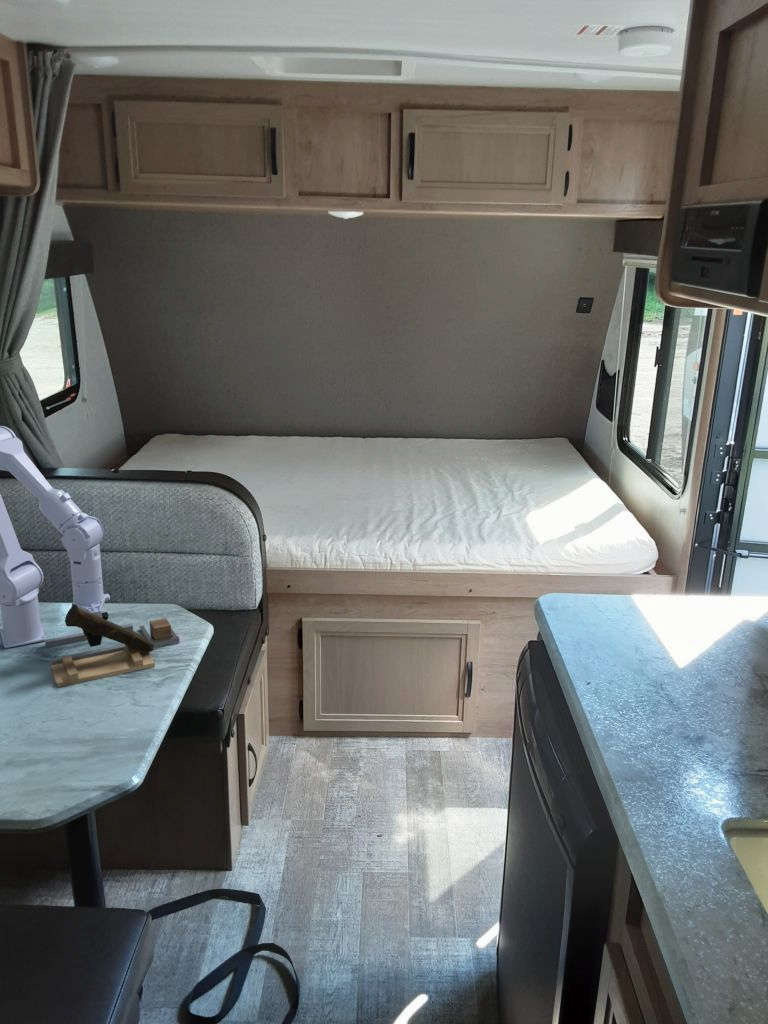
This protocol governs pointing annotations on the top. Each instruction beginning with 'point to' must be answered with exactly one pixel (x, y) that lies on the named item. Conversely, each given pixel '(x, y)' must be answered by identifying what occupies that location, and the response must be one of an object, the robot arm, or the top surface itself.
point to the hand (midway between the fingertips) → (92, 640)
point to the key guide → (160, 642)
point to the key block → (160, 629)
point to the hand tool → (106, 629)
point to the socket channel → (85, 654)
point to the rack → (100, 666)
